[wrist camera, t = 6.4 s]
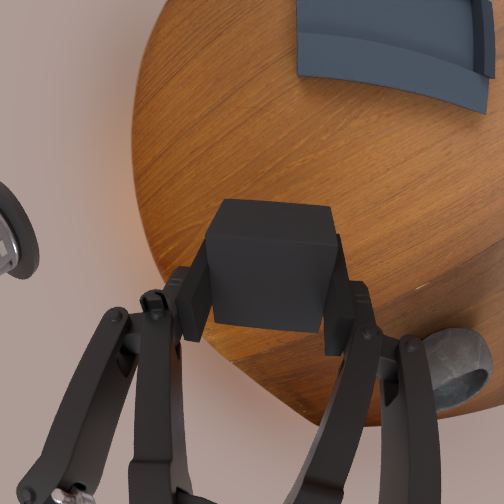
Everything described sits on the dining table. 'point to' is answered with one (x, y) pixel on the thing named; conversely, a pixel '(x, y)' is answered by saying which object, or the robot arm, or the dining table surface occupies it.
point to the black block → (271, 264)
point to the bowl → (457, 365)
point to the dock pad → (401, 45)
